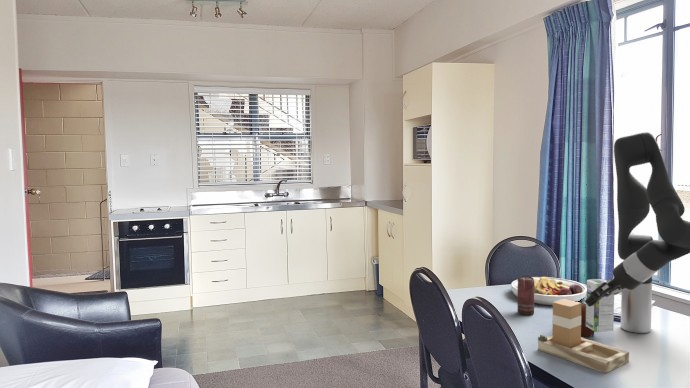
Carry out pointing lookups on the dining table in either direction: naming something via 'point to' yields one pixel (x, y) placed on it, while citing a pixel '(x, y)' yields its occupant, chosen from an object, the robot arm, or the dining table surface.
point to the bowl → (553, 290)
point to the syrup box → (599, 309)
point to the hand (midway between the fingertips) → (595, 301)
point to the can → (526, 296)
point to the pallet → (586, 353)
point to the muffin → (585, 330)
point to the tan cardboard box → (566, 323)
